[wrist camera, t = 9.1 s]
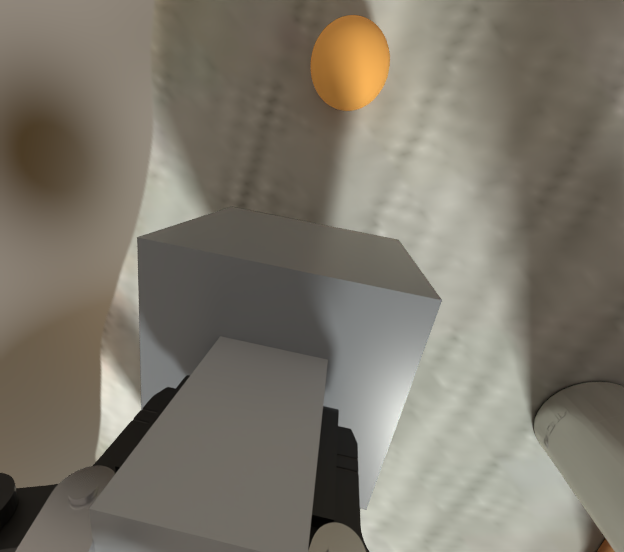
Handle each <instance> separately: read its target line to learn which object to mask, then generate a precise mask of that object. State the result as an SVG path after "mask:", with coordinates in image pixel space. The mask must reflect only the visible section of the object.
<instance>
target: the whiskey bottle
mask: <svg viewBox="0 0 624 552" xmlns="http://www.w3.org/2000/svg"><path fill="white" fill-rule="evenodd" d="M597 552H615V551H614V550H613V548H612V547H611V545H610V544H609V542H608V541H607V540H606V538H605V540H604V541H603V543H602V545H601V546H600V548H599V549H598V551H597Z"/></svg>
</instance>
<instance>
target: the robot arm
mask: <svg viewBox="0 0 624 552" xmlns="http://www.w3.org/2000/svg"><path fill="white" fill-rule="evenodd" d="M189 377H190V375H187V376H186V377H185V378H184V379H183V380H182V381H181V383H180V384H179V385H178V386H177V388H176V389H175V388H171V387H166V388H165V389H163V390H162V391H160V392H158V393H157V394H155V395H154V396H152V398H151V399H150V400H149V401H148V402H147V403H146V405H145V406H144V407H143V409H142V411H141V410H140V412H139V413H138V414H137V415H136V416H135V417H134V420H133V421H131V422H130V423H129V424H128V426H127V427H126V428H125V429H124V430H123V431H122V433H121V434H120V435H119V436H118V437H117V438H116V440H115V441H114V442H113V443H112V444H111V445H110V447H109V448H108V449H107V450H106V451H105V452H104V454H103V455H102V456H101V457H100V458H99V459H98V461H97V462H96V463H95V464H94V465H93V466H90V467H86V468H83V469H80V470H78V471H76V472H74V473H72V474H71V475H69V476H68V477H66V478H65V479H64V480H63V481H62V482H60V483H59V484H55V485H48V486H37V487H27V488H16V487H15V483H14V480H13V478H12V477H11V476H9V475H7V474H4V473H0V552H95V547H94V540H93V538H92V530H91V521H90V513H89V508H90V507H91V505H92V504H93V503H94V501H95V500H96V499H97V497H98V496H99V495H100V494H101V492H102V491H103V490H104V488H105V487H106V486H107V484H108V483H109V482H110V480H111V479H112V478H113V476H114V475H115V474H116V473H117V471H118V470H119V469H120V467H121V466H122V465H123V463H124V462H125V461H126V459H127V458H128V457H129V455H130V454H131V453H132V452H133V450H134V449H135V448H136V446H137V445H138V444H139V442H140V441H141V440H142V438H143V437H144V436H145V434H146V433H147V432H148V431H149V429H150V428H151V427H152V425H153V424H154V423H155V421H156V420H157V419H158V417H159V416H160V415H161V413H162V412H163V411H164V410H165V408H166V407H167V406H168V404H169V403H170V402H171V400H172V399H173V398H174V396H175V395H176V394H177V392H178V391H179V390H180V389H181V387H182V386H183V385H184V383H185V382H186V381H187V379H188V378H189ZM338 418H339V410H338V409H335V408H330V407H326V406H323V412H322V421H321V431H320V441H319V450H318V460H317V469H316V479H315V489H314V498H313V508H312V518H311V527H310V537H309V546H308V552H369V550H368V549H367V547H366V545H365V543H364V540H363V537H362V533H361V526H360V499H359V475H358V471H359V470H358V443H357V441H356V439H355V437H354V434H353V432H352V430H351V429H349V428H345V427H340V426H338ZM534 431H535V436H536V437H537V439H538V441H539V443H540V444H541V446H542V447H543V449H544V450H545V452H546V453H547V454H548V456H549V457H550V459H551V460H552V462H553V463H554V465H555V466H556V467H557V469H558V470H559V472H560V473H561V475H562V476H563V478H564V479H565V481H566V482H567V484H568V485H569V486H570V488H571V489H572V491H573V492H574V494H575V495H576V496H577V498H578V499H579V501H580V502H581V504H582V505H583V507H584V508H585V509H586V511H587V512H588V514H589V515H590V517H591V518H592V519H593V521H594V522H595V524H596V525H597V527H598V528H599V530H600V531H601V532H602V534H603V535H604V537H605V538H606V540H607V541H608V542H609V544H610V545H611V547H612V548H613V550H614V551H615V552H624V387H623V386H621V385H618V384H613V383H609V382H588V383H582V384H578V385H574V386H571V387H568V388H566V389H564V390H561V391H560V392H558V393H556V394H555V395H553V396H552V397H550V398H549V399H548V400H547V401H546V402H545V403H544V404H543V405H542V407H541V408H540V409H539V411H538V413H537V415H536V418H535V422H534Z"/></svg>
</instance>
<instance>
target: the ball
mask: <svg viewBox="0 0 624 552" xmlns="http://www.w3.org/2000/svg"><path fill="white" fill-rule="evenodd" d="M389 66H390V53H389V48H388V44H387V41H386V38H385V36H384V34H383V33H382V31H381V30H380V28H379V27H378V26H377V25H376V24H375V23H374V22H372V21H371V20H369V19H367V18H365V17H362V16H358V15H348V16H343V17H341V18H338V19H336V20H335V21H333V22H332V23H330V24H329V25H328V26H327V27H326V28H325V29H324V30H323V31H322V33H321V34H320V35H319V37H318V39H317V41H316V43H315V45H314V48H313V51H312V56H311V77H312V81H313V84H314V87H315V89H316V91H317V93H318V94H319V96H320V97H321V98H322V99H323V101H324V102H326V103H327V104H328V105H329V106H331V107H333V108H335V109H338V110H342V111H352V110H357V109H360V108H362V107H364V106H366V105H367V104H369V103H370V102H371V101H373V100H374V99H375V97H376V96H377V95H378V94H379V92H380V91H381V90H382V88H383V86H384V84H385V82H386V79H387V76H388V71H389Z"/></svg>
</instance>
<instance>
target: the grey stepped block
mask: <svg viewBox="0 0 624 552" xmlns="http://www.w3.org/2000/svg"><path fill="white" fill-rule="evenodd" d="M137 244H138V286H139V327H140V368H141V410H142V409H143V407H144V406H145V405H146V403H147V402H148V401H149V400H150V399H151V398H152V396H154V395H155V394H157V393H158V392H160V391H162V390H163V389H165V388H166V387H171V388H175V389H176V388H177V386H178V385H179V384H180V383H181V381H182V380H183V379H184V378H185V377H186V376H187V375H190V377H189V378H188V379H187V381H186V382H185V383H184V385H183V386H182V387H181V389H180V390H179V391H178V392H177V394H176V395H175V396H174V398H173V399H172V400H171V402H170V403H169V404H168V406H167V407H166V408H165V410H164V411H163V412H162V413H161V415H160V416H159V417H158V419H157V420H156V421H155V423H154V424H153V425H152V427H151V428H150V429H149V431H148V432H147V433H146V434H145V436H144V437H143V438H142V440H141V441H140V442H139V444H138V445H137V446H136V448H135V449H134V450H133V452H132V453H131V454H130V455H129V457H128V458H127V459H126V461H125V462H124V463H123V465H122V466H121V467H120V469H119V470H118V471H117V473H116V474H115V475H114V476H113V478H112V479H111V480H110V482H109V483H108V484H107V486H106V487H105V488H104V490H103V491H102V492H101V494H100V495H99V496H98V497H97V499H96V500H95V501H94V503H93V504H92V505H91V507H90V508H89V513H90V521H91V530H92V538H93V540H94V547H95V552H308V546H309V537H310V527H311V518H312V508H313V498H314V489H315V479H316V469H317V460H318V450H319V441H320V431H321V421H322V412H323V406H326V407H330V408H335V409H338V410H339V418H338V426H340V427H345V428H349V429H351V430H352V432H353V434H354V437H355V439H356V441H357V443H358V470H359V471H358V475H359V499H360V509H364V510H366V509H367V506H368V504H369V501H370V498H371V495H372V493H373V490H374V487H375V484H376V482H377V479H378V476H379V473H380V470H381V468H382V465H383V462H384V459H385V457H386V454H387V451H388V448H389V446H390V443H391V440H392V437H393V434H394V432H395V429H396V426H397V423H398V421H399V418H400V415H401V412H402V410H403V407H404V404H405V401H406V398H407V396H408V393H409V390H410V387H411V385H412V382H413V379H414V376H415V374H416V371H417V368H418V365H419V362H420V360H421V357H422V354H423V351H424V349H425V346H426V343H427V340H428V338H429V335H430V332H431V329H432V326H433V324H434V321H435V318H436V315H437V313H438V310H439V307H440V304H441V302H442V300H441V298H440V297H439V295H438V294H437V293H436V291H435V290H434V288H433V287H432V286H431V284H430V283H429V281H428V280H427V279H426V277H425V276H424V274H423V273H422V272H421V270H420V269H419V268H418V266H417V265H416V263H415V262H414V261H413V259H412V258H411V256H410V255H409V254H408V252H407V251H406V249H405V248H404V247H403V245H402V244H401V242H400V241H399V240H397V239H392V238H387V237H382V236H377V235H372V234H367V233H362V232H357V231H352V230H347V229H342V228H336V227H331V226H326V225H321V224H316V223H311V222H306V221H301V220H296V219H291V218H286V217H281V216H276V215H271V214H266V213H261V212H256V211H251V210H246V209H241V208H236V207H229V208H226V209H223V210H220V211H217V212H214V213H211V214H208V215H205V216H201V217H198V218H195V219H192V220H189V221H186V222H183V223H180V224H177V225H174V226H171V227H168V228H165V229H161V230H158V231H155V232H152V233H149V234H146V235H143V236H140V237H137Z"/></svg>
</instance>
